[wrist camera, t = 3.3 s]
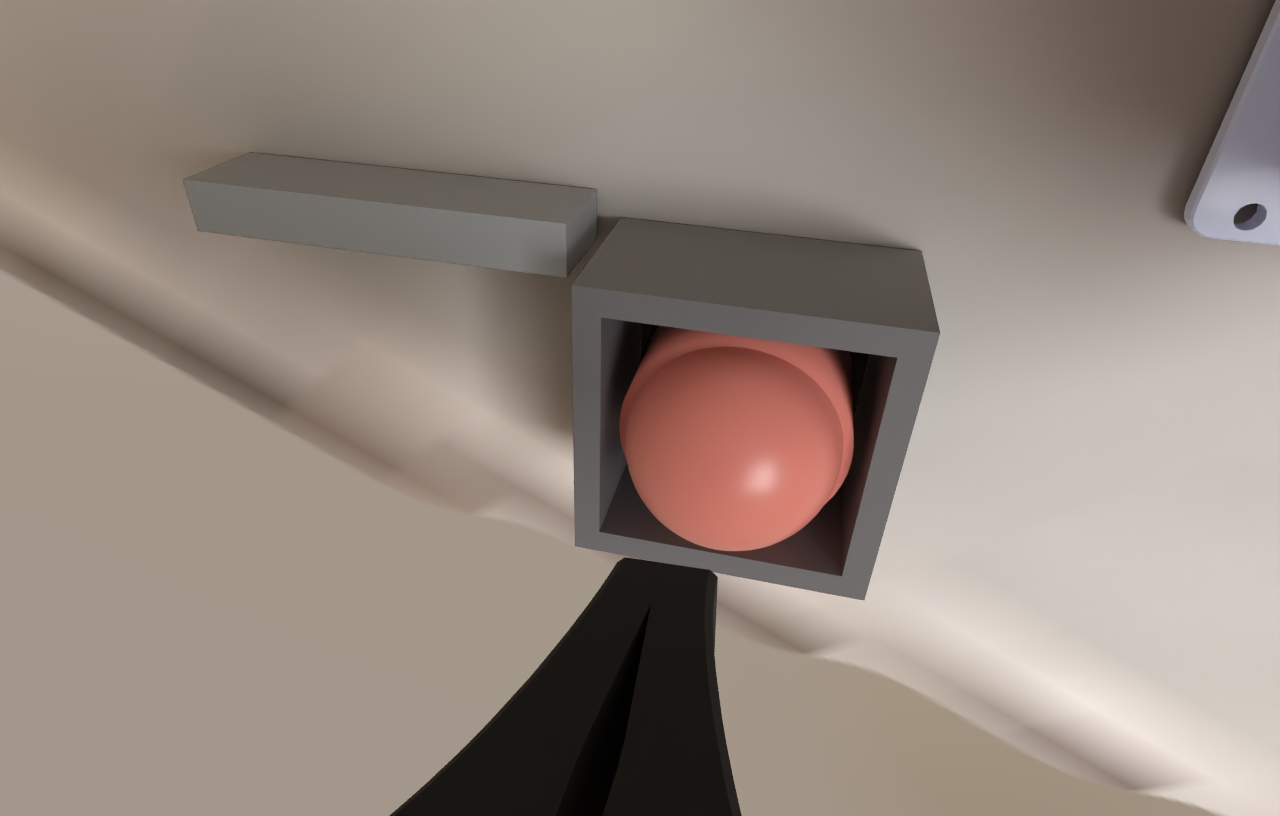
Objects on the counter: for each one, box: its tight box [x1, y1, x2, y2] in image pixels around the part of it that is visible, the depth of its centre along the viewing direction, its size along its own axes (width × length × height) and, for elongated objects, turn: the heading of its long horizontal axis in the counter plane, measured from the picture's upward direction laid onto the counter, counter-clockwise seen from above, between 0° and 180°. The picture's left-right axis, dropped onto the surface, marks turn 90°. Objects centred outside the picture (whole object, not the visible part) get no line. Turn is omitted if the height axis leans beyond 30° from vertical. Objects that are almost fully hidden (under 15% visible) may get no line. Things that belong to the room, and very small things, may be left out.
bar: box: [183, 152, 597, 278], centre depth 18 cm, size 9×1×2 cm, turn 88°
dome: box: [619, 325, 854, 551], centre depth 17 cm, size 5×5×5 cm
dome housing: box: [571, 217, 940, 600], centre depth 18 cm, size 7×7×4 cm
